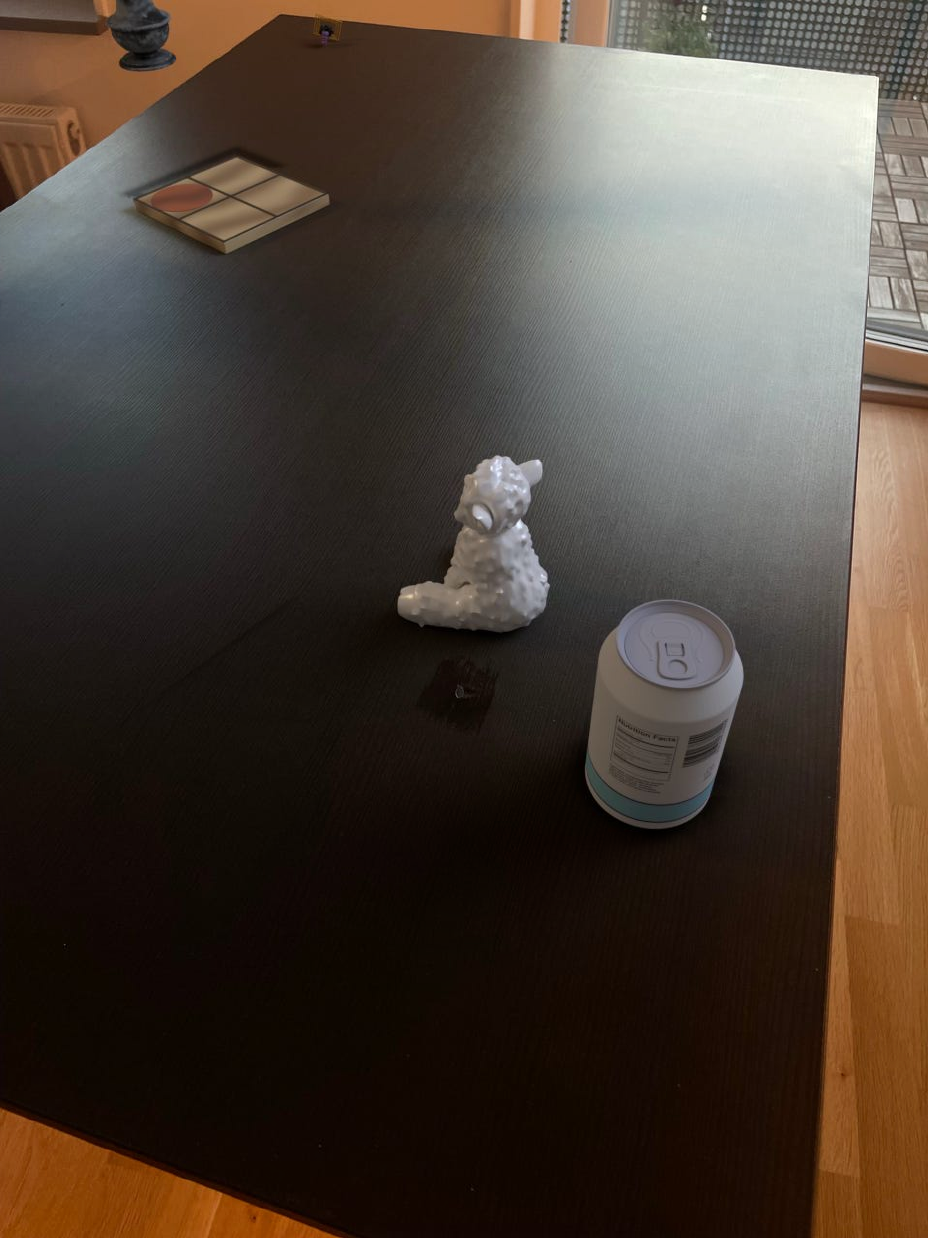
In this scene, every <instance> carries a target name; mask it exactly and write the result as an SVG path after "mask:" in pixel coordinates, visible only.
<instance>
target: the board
mask: <svg viewBox="0 0 928 1238" xmlns="http://www.w3.org/2000/svg"><path fill="white" fill-rule="evenodd" d="M132 200H133V203H134V207H135V210H136V212H139V213H141V212H142V213H141V214H142V215H145V216H147V217H149V218H150V219H153V220H155V221H157V222H158V223H161V224H163V225H165V226H167V227H169V228H171V229H174V230H175V231H178V232H180V233H181V234H184V235H186V236H188V237H189V238H192V239H194V240H196V241H199V242H200V243H203V244H204V245H206V246H209V247H211V248H212V249H214V250H217V251H219V252H221V253H223V254H225V255H227V254H230V253H232V252H234V251H236V250H238V249H240V248H242V247H244V246H246V245H249V244H250V243H253V242H255V241H257V240H259V239H261V238H263V237H265V236H267V235H269V234H272V233H274V232H276V231H277V230H280V229H282V228H284V227H287V226H289V225H290V224H292V223H294V222H297V221H300V220H301V219H303V218H306V217H307V216H309V215H311V214H313V213H315V212H318V211H319V210H321V209H323V208H326V207H328V206H330V205H331V204H330V196H329V192H327V191H325V190H323V189H320V188H317V187H315V186H313V185H311V184H308V183H305V182H303V181H300V180H298V179H295V178H293V177H291V176H288V175H286V174H284V173H281V172H279V171H276V170H274V169H272V168H269V167H267V166H264V165H262V164H259V163H257V162H254V161H252V160H250V159H247V158H244V157H242V156H239V155H234V156H232V157H229V158H227V159H225V160H222V161H220V162H218V163H215V164H213V165H211V166H208V167H206V168H203V169H202V170H201V169H200V170H199V171H196V172H194V173H191V174H189V175H186V176H184V177H182V178H179V179H177V180H175V181H172V182H170V183H167V184H165V185H163V186H161V187H158V188H155V189H153V190H150V191H148V192H146V193H143V194H141V195H139V196H136V197H133V198H132Z"/></svg>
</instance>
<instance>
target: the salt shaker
mask: <svg viewBox="0 0 928 1238" xmlns="http://www.w3.org/2000/svg"><path fill="white" fill-rule="evenodd" d="M171 19H172V17H171V14H170V13H169V12H168V11H166V10H163V9H160V8H158V7H157V6H156V5H155V3H154V2H153V0H115V12H114V13H113V14H111V15H109V16H108V17H106V19H105V21H104V23H105V27H107V28H108V29H110V32H111V36H112V38H113V39H114V41H115V42H116V44H117V45H119V46H120V47H121V48H122V49H123V50H125V51H127V52H126V53H125V54H124V55H122V57H121V58H120V59H119V61H118V66H119V67H120V68H121V69H123V70H125V71H130V72H137V73H138V72H139V73H140V72H152V71H157V70H158V71H159V70H162V69H164V68H165V69H166V68H168V67H170V66H172V65H173V64H175V62H176V61H177V56H176V54H174V53H173V52H171V51H169V50H168V49H165V48H163V47H164V46H165V44H166V43H167V41H168V39H169V35H170V24H169V23H170V21H171Z"/></svg>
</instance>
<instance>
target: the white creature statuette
mask: <svg viewBox="0 0 928 1238" xmlns="http://www.w3.org/2000/svg"><path fill="white" fill-rule="evenodd" d="M542 477H543V463H542V462H541V460H540V459H531V460H527V461H525V462H523V463H520V464H518V465H516V463H515V462H514V461H512V459H511V458H510V456H500V455H499V454H498V455H494V456H493V457H492V458H491V459H489V458H486V459H483V460H482V461H481V462H480V463H478V464H477V465H476V466H475V471H474V472H472V473H471V474H466V475H464V478H463V481H464V482H463V483H464V485H463V489H462V494H461V495H460V498H459V504H458V506H457V509H456V510H455V511H454V513H453V515H454V519H455V520H456V522H458V523H461V524H463V526H462V527H461V530H460V531H459V532H458V534H457V537H456V539H455V545H454V548H453V550H454V551H453V556H452V558H451V559H450V565H451V566H450V567H449V568H448V569H447V571H446V575H444V577H443V582H444V583H439V582H433V581H431V580H428V581H424V582H423V583H417V584H414V585H407V586H404V587H402V588H401V589H400V592H399V593H400V595H398V599H397V614H398V616H400V617H401V618H403V619H404V620H407V621H410V622H413V623H416V624H418V625H419V627H420V628H423V627H424V626H425V625H429V626H434V627H441V628H442V627H444V628H451V629H452V628H453V629H455V630H460V629H462V630H463V629H465V630H471V631H474V632H475V631H477V630H481V631H482V630H483V631H489V632H490V631H491V632H495V633H503V632H504V633H506V632H511V631H514V630H516V629H520V628H523V627H527V626H529V625H530V624H531V622H532V621H533V619H536V618H538V617H539V616H540V614H543V613H544V610H545V608H546V607H547V597H548V595H549V594H548V593H549V589H550V587H551V584H550V583H549V582H548V572H546V570H545V569H544V568H543V567H542V566H541V565H540V562H539V555H537V554H536V553H535V550H534V548H532V546H533V540H532V539H531V538H532V535H531V533H530V532H529V528H528V525H527V524H525V523H524V522H523V521H522V518H523V517H524V516H525V515H526V513H527V512H528V509H529V507H530V504H531V502H532V496H531V495H532V494H531V488H532V487H534V486H535V485H537V484H538V483H540V481H541V480H542Z"/></svg>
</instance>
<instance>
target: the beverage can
mask: <svg viewBox="0 0 928 1238" xmlns="http://www.w3.org/2000/svg"><path fill="white" fill-rule="evenodd" d="M743 685H744V666H743V663H742V660H741V656H740V655H739V653H738V650H737V649H736V641H735V638H734V636H733V633H732V631H731V630H730V628H729V627H728V625H727V624H726V623H725V622H724V621H723V620H722V619H721V618H720V617H719V616H718V615H717V614H716V613H714V612H712V611H711V610H709V609H707V608H705V607H703V606H701V605H699V604H696V603H694V602H690V601H685V600H679V599H657V600H652V601H648V602H645V603H642V604H640V605H638V606H636V607H634V608H633V609H631V610H630V611H629V612H628V613H626V615H625V616H623V618H622V619H621V620H620V623H619V624H618V626H616V627H615V628H613V630H612V631H611V632H610V633H609V634H608V635H607V637H606V638H605V639H604V641H603V643H602V645H601V647H600V650H599V654H598V661H597V668H596V675H595V685H594V693H593V701H592V709H591V716H590V717H591V718H590V726H589V735H588V741H587V749H586V756H585V757H586V758H585V765H584V774H585V781H586V785H587V787H588V790H589V792H590V794H591V795H592V797H593V798H594V800H595V801H596V802H597V804H598V805H599V806H600V807H601V808H602V809H603V810H604V811H605V812H606V813H608V814H609V815H611V816H612V817H614V818H615V819H617V820H619V821H620V822H623V823H625V824H627V825H630V826H633V827H636V828H637V827H638V828H641V829H649V830H663V829H668V828H673V827H677V826H680V825H682V824H684V823H686V822H688V821H690V820H692V819H693V818H695V817H696V816H697V815H698V814H699V813H700V812H702V810H703V809H704V807H705V806H706V805H707V803H708V800H709V798H710V797H711V793H712V790H713V787H714V783H715V780H716V776H717V773H718V769H719V766H720V762H721V759H722V757H723V753H724V749H725V746H726V742H727V739H728V735H729V733H730V728H731V726H732V722H733V719H734V715H735V712H736V708H737V705H738V702H739V699H740V695H741V691H742V688H743Z"/></svg>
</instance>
